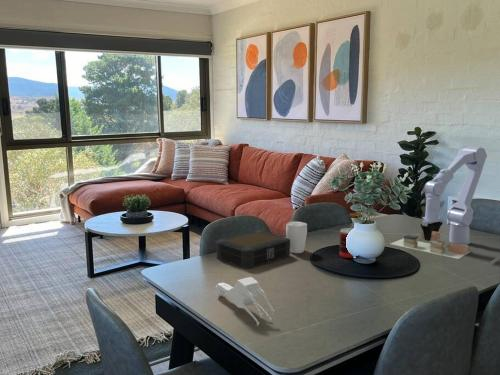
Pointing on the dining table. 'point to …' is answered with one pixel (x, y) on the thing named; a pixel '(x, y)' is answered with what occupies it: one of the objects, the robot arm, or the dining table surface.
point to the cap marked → (433, 235)
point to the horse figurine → (244, 295)
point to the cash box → (253, 249)
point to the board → (426, 248)
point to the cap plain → (458, 248)
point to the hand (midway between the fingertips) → (430, 239)
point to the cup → (296, 236)
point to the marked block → (410, 241)
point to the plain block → (437, 246)
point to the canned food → (344, 243)
